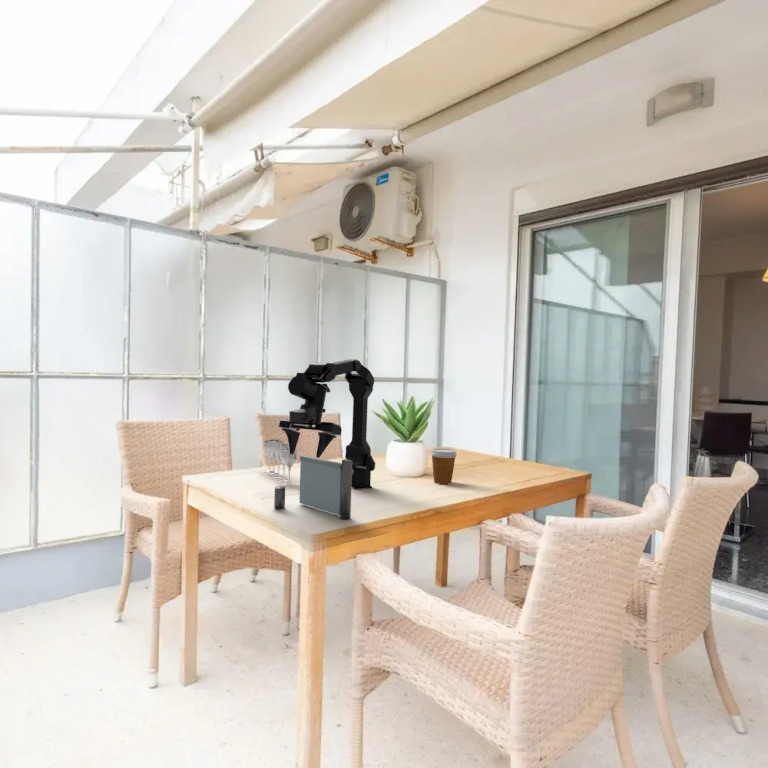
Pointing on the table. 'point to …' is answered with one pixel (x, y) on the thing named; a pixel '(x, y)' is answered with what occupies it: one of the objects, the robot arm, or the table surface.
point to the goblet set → (280, 456)
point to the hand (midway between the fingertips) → (304, 455)
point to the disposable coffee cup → (443, 465)
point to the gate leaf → (320, 484)
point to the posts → (345, 491)
